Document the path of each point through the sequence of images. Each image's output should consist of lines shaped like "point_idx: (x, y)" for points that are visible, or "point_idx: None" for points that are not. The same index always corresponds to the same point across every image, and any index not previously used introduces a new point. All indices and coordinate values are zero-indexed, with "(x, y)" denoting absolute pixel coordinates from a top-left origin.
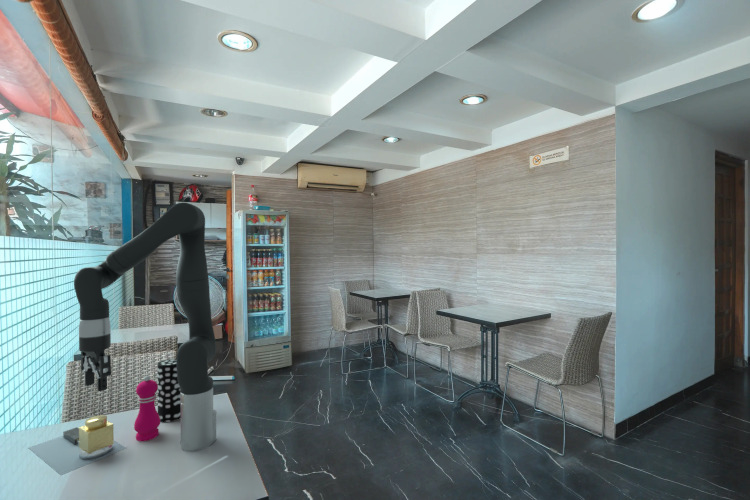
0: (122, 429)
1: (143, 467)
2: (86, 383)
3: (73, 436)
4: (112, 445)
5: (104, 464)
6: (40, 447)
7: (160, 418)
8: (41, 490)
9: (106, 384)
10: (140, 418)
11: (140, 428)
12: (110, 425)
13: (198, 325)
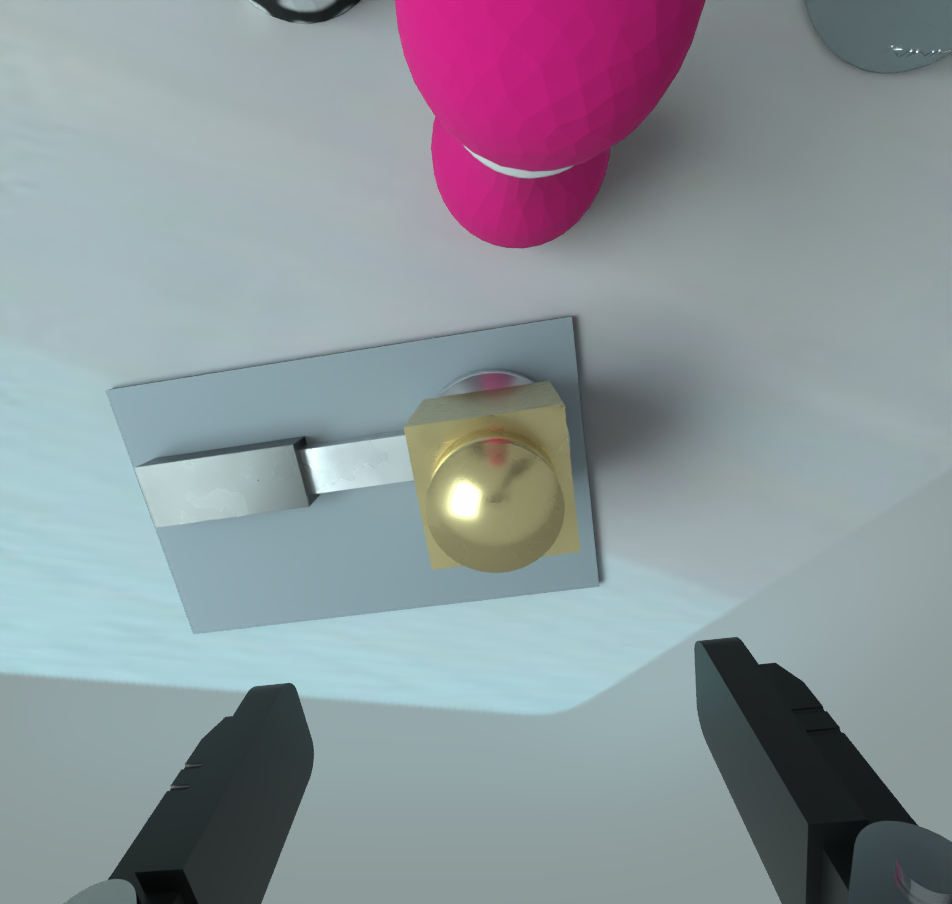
0: (273, 258)
1: (855, 313)
2: (300, 786)
3: (262, 503)
4: (526, 378)
5: (645, 437)
6: (228, 600)
7: (325, 2)
8: (649, 643)
9: (773, 691)
10: (558, 203)
11: (574, 222)
12: (564, 422)
13: None
